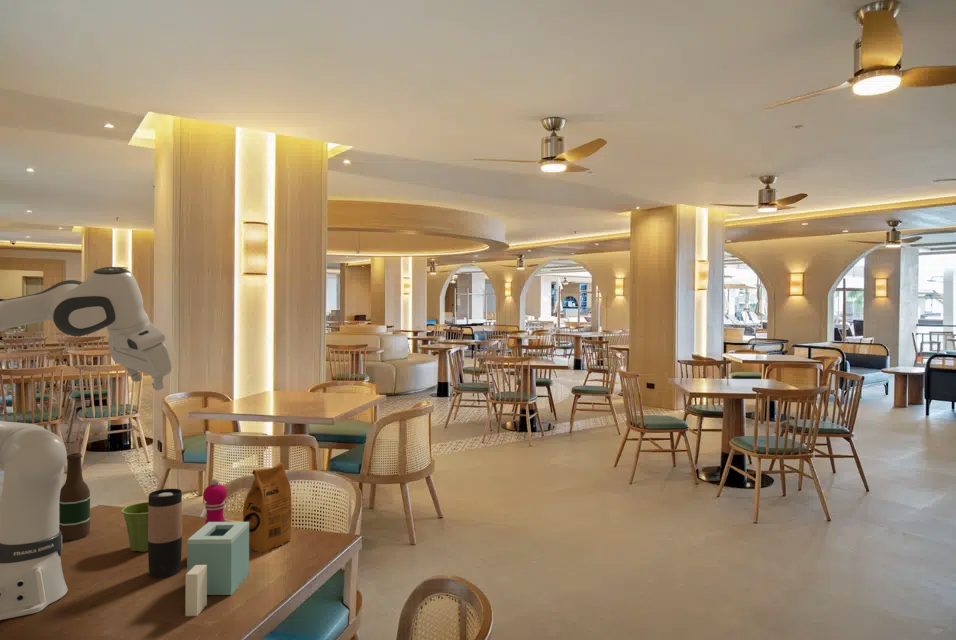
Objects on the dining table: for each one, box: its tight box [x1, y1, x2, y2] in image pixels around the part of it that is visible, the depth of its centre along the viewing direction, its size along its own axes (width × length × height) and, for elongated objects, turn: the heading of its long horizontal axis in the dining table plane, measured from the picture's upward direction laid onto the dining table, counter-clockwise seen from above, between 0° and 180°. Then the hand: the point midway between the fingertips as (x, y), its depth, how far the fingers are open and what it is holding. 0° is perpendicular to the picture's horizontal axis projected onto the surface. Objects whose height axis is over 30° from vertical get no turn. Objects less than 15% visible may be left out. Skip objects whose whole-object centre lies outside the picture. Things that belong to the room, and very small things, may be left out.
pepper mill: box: [202, 478, 228, 525], centre depth 166 cm, size 7×7×20 cm
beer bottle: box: [59, 452, 91, 541], centre depth 177 cm, size 8×8×24 cm
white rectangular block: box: [184, 565, 208, 617], centre depth 133 cm, size 5×2×9 cm, turn 2°
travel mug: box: [147, 488, 183, 579], centre depth 153 cm, size 8×8×20 cm
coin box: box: [186, 521, 250, 596], centre depth 146 cm, size 12×10×13 cm
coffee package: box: [242, 462, 293, 553], centre depth 172 cm, size 10×12×22 cm
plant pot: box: [121, 501, 148, 553], centre depth 169 cm, size 12×12×11 cm
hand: (148, 384), depth 149 cm, fingers open, 8 cm apart
